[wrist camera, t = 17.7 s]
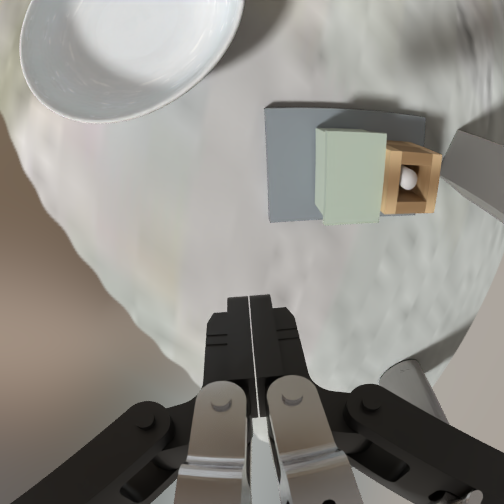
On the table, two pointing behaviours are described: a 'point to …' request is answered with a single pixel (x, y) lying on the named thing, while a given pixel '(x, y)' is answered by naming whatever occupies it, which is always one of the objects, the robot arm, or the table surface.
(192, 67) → the serving bowl
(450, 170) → the perfume bottle
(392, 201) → the sleeve
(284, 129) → the board
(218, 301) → the table surface
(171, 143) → the table surface
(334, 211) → the block
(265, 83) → the table surface
